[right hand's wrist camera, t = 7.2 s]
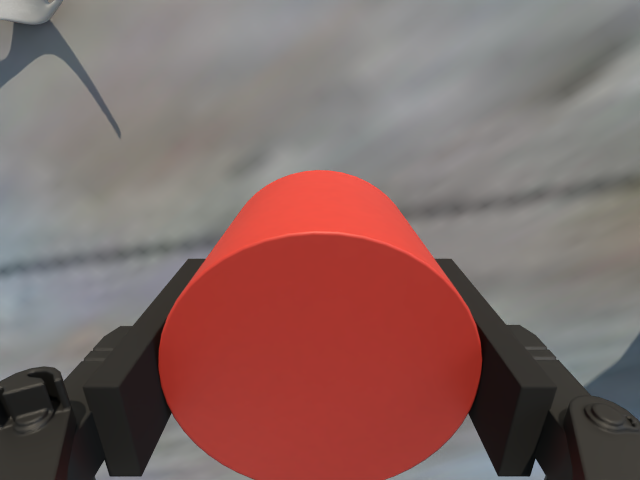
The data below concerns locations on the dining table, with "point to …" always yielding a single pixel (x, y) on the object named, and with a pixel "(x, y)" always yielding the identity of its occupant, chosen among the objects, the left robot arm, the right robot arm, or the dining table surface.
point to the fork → (28, 10)
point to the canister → (320, 339)
